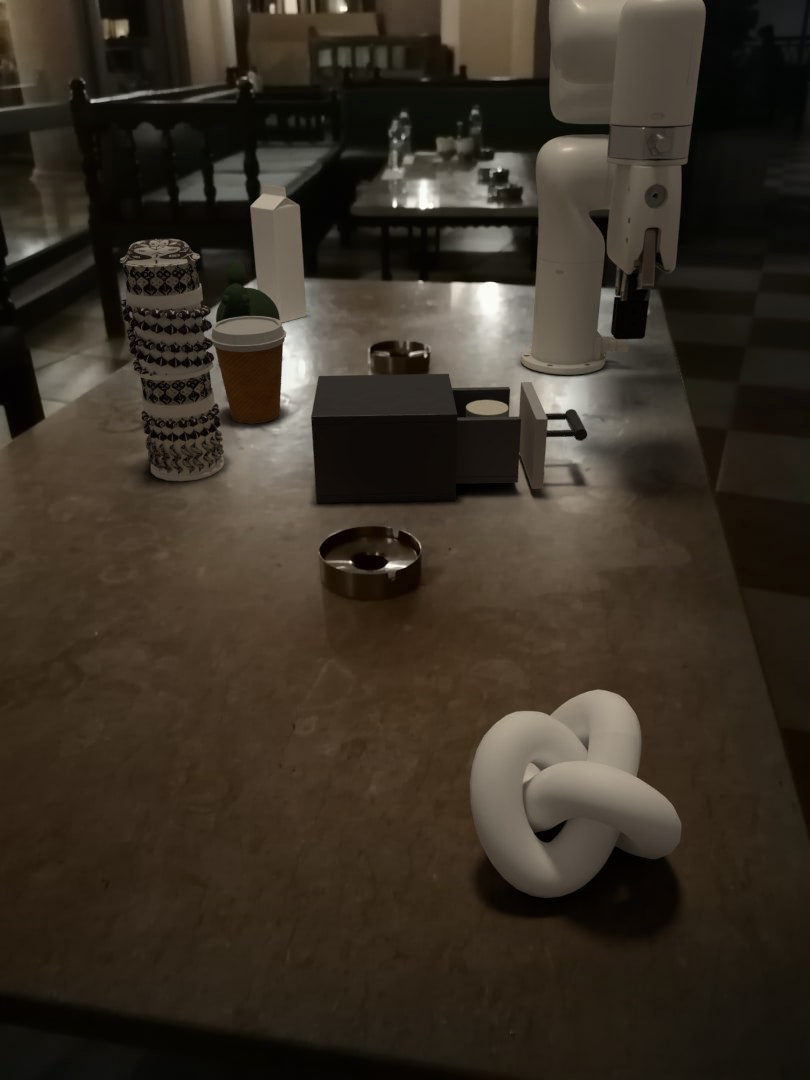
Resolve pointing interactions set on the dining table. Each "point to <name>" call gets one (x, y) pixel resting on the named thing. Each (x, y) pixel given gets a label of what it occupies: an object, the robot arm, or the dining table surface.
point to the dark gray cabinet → (384, 438)
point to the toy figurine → (243, 297)
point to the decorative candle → (172, 359)
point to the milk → (279, 251)
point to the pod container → (486, 409)
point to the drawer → (506, 437)
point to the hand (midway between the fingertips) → (627, 336)
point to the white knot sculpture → (566, 794)
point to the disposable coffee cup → (250, 365)
